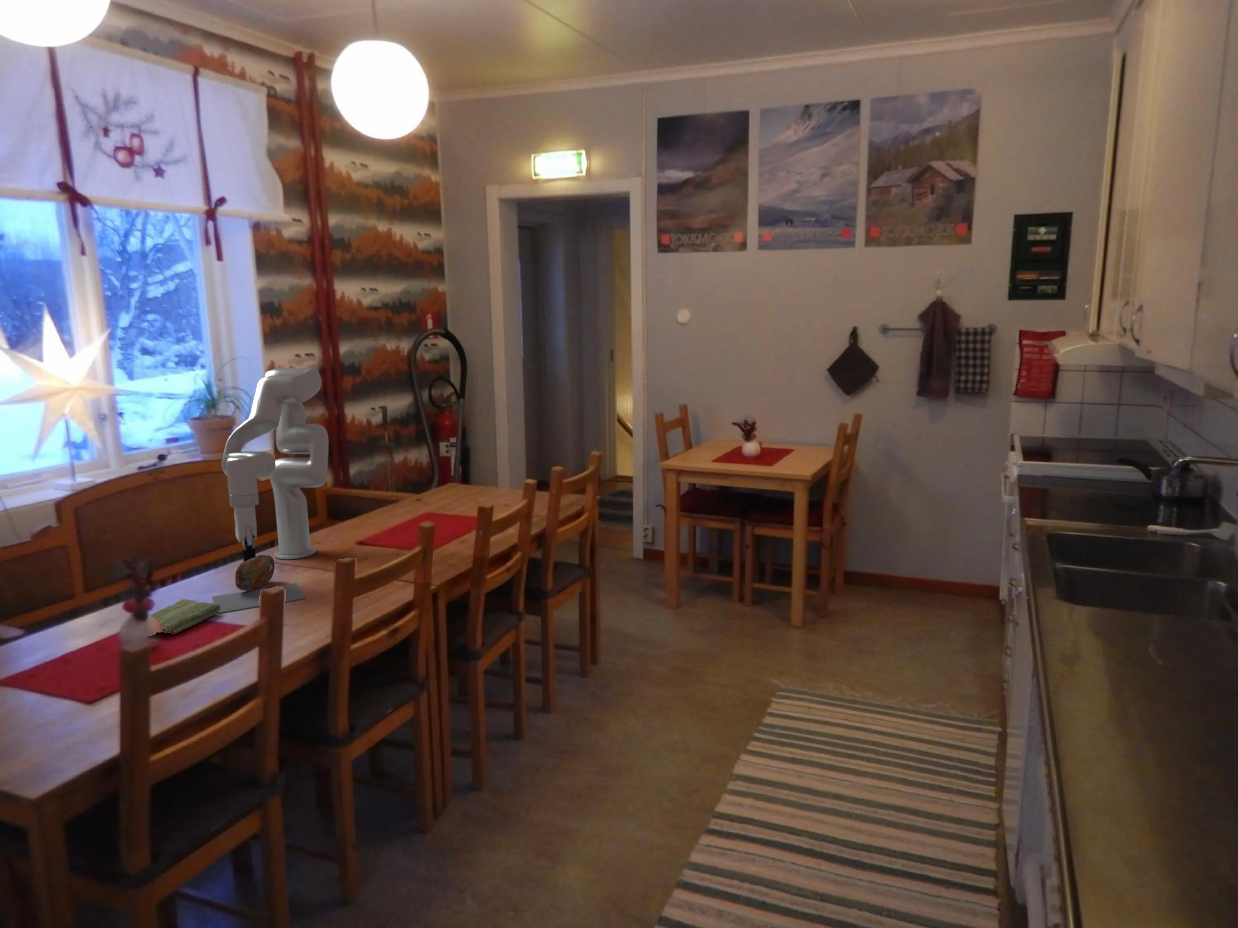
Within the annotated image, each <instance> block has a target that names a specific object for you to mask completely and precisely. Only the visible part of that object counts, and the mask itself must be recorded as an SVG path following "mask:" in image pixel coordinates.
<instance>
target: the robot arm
mask: <svg viewBox="0 0 1238 928" xmlns="http://www.w3.org/2000/svg"><path fill="white" fill-rule="evenodd" d="M321 388H322V376H321V374H320V372H319V371H318V370H317V369H315V368H313V367H280V368H273V369H269V370H268V371H266V372H265V374H264V377H262V378H261V379H259V381H258V382H257V384H256V389H255V391H254V395H253V401H252V405H251V408H250V412H249V417H248V418H247V420H244V421H243V422H242V423H241V424H239V426H237V428H236V429H235V430H234V431H233V432H232V433H231V434H230V436H229V437H228V439H227V440H226V443H225V446H224V450H223V453H222V459H221V469H222V472H223V473H224V474H225V476H226V477H227V488H228V497H229V499H228V500H229V507H231V508H233V517H234V530H235V531H234V532H235V538H236V540H237V541H238V542H239V543H241V542H242V544H241V545H242V549H241V550H242V559H243V561H242V562H244V561H247V560H249V559H251V558H254V557H256V556H257V555H256V547H255V541H256V540H257V539H258V534H257V533H258V532H257V531H258V529H257V518H256V517H257V515H256V508H255V507H256V506H257V505H259V504H260V503H259V501H260V499H259V490H258V489H259V488H258V481H257V479H260V478H266V477H269V481H270V483H271V487H272V492H273V497H274V498H273V499H274V507H275V517H276V519H275V520H276V531H277V539H278V540H277V541H278V542H277V543H278V549H276V550H275V551H274V553H273V555H274V558H277V559H279V560H294V559H303V558H307V557H310V556H313V555H314V554H315V553H316V552H317V550H316V547H314V546H312V545H311V538H310V527H309V525H310V524H309V514H308V513H309V512H308V503H307V502H308V501H307V497H306V495H305V494H304V492H303V491H302V490H301V488H320V487H322V486H324V485H325V483H326V482H327V477H328V467H329V466H328V464H329V463H328V462H329V445H330V444H329V435H328V431H327V430H326V427H324V425H322V424H317V423H306V412H307V411H306V408H305V405H303V403H305V402H307V401H308V400H309V399H311V398H312V397H314V396H316V395H317V394H318V393H319V391H320V390H321ZM273 431H276V432H275V433H276V435H275V442H276V443H275V444H276V449H277V451H278V452H280V453H282V454H288V455H304V454H306V455H309V457H281V458H277V459H275V457H274V455H273V454H272V453H270V452H268V451H242V450H243V449H244V448H245V446H246V445H247V444H249V443H250V442H251V441H253V440H255V439H257V438H260V437H262V436H264V435H266V434H269V433H271V432H273Z"/></svg>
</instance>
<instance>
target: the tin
mask: <svg viewBox="0 0 1238 928" xmlns="http://www.w3.org/2000/svg"><path fill="white" fill-rule="evenodd" d="M236 568H237V569H236V570H235V578H234V580H235V587H236V589H238V590H239V591H244V592H245V591H252V590H257V588H258V589H259V588H260V587H262V586H264V585H266V584H268V583H269V582H270V581H271V579H272V577H273V576H274V572H275V560H274V558H273V556H271V555H268V554H266V555H265V554H259V555H256V557H254V558H251V559H249V560H247V561H242V562H241V563H240V564H238V567H236Z"/></svg>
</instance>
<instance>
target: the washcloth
mask: <svg viewBox="0 0 1238 928" xmlns="http://www.w3.org/2000/svg"><path fill="white" fill-rule="evenodd" d="M220 608H221V607H220V605H219V604H215V603H214V602H203V601H201V602H200V601H196V600H194V599H187V598H186V599H185V598H184V599H179V600H177V602H175V603H173V604H172V605H169V606H165V607H164V608H162V609H160V610H158V611H157V612H154V613H152V614H149V615H150V616H151V617H153V618H155V619H157V620H158V621H159V622H160V624H161V627H162V629H163V632H164V633H163V634H167V632H172V633H176V632H179V631H182V630H183V629H185V630H187V629H186V628H188V627H189V628H191V627H193V626H195V625H196V624H199V623H201V622H204V621H205V620H208V618H211V617H213V616H215V615H216V614H217V613H218V611H219V610H220ZM192 625H193V626H192ZM189 628H188V629H189ZM182 632H183V631H182Z"/></svg>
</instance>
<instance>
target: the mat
mask: <svg viewBox="0 0 1238 928" xmlns="http://www.w3.org/2000/svg"><path fill="white" fill-rule="evenodd" d="M281 586H282V587H284V589H286V602H285V603H290V602H295V601H301V600H306V599H307V598H306V596H305V595H304V593H303V591H302V590H301V588H300V587H299V585H298V583H296V582H295V583H289V584H284V585H283V584H282V585H281ZM266 588H267V587H264V588H258V589H257V588H256V589H254V590H252V591H245V590H244V591H239V592H233V593H228V594H227V593H226V594H221V595H220V594H219V595H214V596H211V597H212V603H215V604H219V605H220V607H221V608H220V610H219V611H218V613H216V614H217V615H218V614H224V613H231V612H236V611H243V610H248V609H254V608H260V607H259V596H260V591H261V590H262V589H266Z"/></svg>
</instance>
